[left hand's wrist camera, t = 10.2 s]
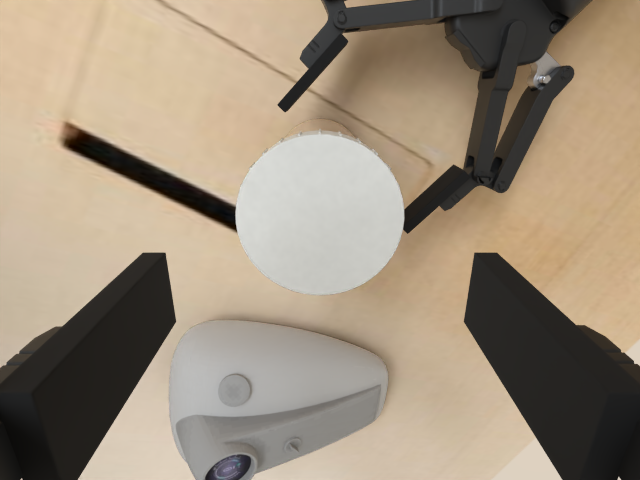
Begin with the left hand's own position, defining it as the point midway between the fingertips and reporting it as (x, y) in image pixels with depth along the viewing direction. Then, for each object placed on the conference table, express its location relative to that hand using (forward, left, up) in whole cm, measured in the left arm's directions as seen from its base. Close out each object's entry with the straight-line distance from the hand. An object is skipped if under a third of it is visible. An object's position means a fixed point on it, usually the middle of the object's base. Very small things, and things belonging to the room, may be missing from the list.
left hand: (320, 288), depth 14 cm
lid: (0, 0, -8) cm, 8 cm away
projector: (-14, -20, -26) cm, 35 cm away
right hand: (+2, 0, -19) cm, 19 cm away
